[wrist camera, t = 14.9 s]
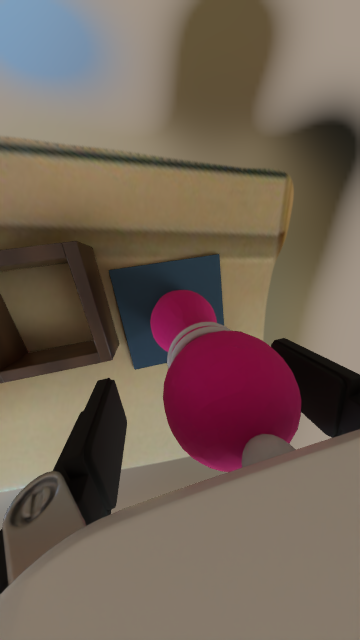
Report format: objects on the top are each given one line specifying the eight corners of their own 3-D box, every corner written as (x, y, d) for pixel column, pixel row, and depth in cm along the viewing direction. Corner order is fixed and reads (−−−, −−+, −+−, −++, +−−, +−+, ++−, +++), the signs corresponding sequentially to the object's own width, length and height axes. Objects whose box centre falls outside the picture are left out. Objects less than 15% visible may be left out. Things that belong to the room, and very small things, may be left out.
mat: (134, 368, 25) (134, 369, 24) (109, 270, 21) (108, 270, 20) (224, 348, 26) (225, 350, 26) (217, 254, 22) (219, 254, 22)
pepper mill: (140, 321, 22) (82, 591, 4) (170, 275, 21) (314, 312, 3) (183, 346, 25) (291, 599, 6) (212, 305, 24) (463, 449, 5)
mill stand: (21, 363, 22) (-10, 385, 18) (-29, 262, 18) (-83, 260, 14) (119, 344, 23) (112, 360, 19) (92, 247, 20) (76, 240, 15)
